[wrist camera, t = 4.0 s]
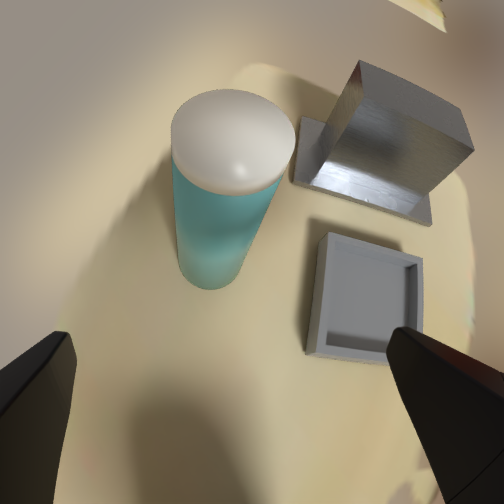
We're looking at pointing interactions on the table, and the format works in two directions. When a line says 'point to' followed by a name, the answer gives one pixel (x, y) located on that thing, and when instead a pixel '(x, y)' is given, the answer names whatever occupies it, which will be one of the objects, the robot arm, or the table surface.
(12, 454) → the robot arm
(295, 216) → the table surface
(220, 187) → the canister
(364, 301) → the holder tray
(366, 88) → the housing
